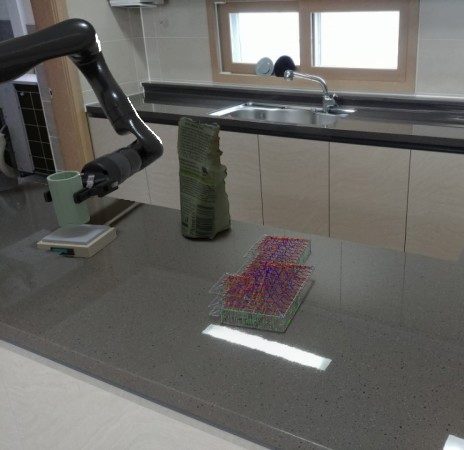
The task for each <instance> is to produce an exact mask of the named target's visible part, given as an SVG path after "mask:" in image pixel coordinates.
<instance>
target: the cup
mask: <svg viewBox="0 0 464 450" xmlns="http://www.w3.org/2000/svg"><path fill="white" fill-rule="evenodd" d="M80 173H81V172H80V171H77V170H64V171H59V172H55V173H52V174H50V175H48V176H47V177H46V182H47V187H48V190H50V194H51V198H52V201H51V203H52V205H53V210H54V213H55V218H56V221H57V225H58V227H75V226H79V225H82V224H87V223H89V222H90V220H91V217H90V211H89V206H88V202H87V199H86V200H85V201H83V202H81V203H80V204H75V202H74V198H73V194H74V193H75V192H77V191H79V190H81V189H82V188H83V184H82V179H81V175H80Z"/></svg>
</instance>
